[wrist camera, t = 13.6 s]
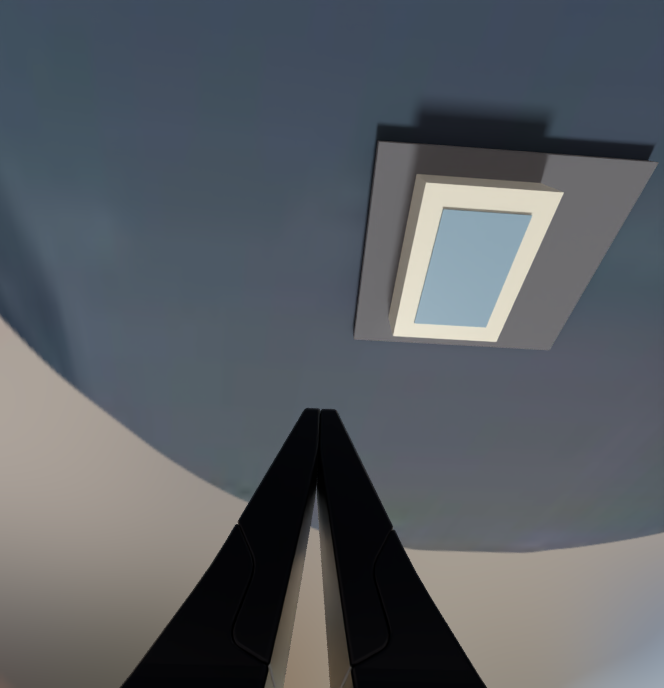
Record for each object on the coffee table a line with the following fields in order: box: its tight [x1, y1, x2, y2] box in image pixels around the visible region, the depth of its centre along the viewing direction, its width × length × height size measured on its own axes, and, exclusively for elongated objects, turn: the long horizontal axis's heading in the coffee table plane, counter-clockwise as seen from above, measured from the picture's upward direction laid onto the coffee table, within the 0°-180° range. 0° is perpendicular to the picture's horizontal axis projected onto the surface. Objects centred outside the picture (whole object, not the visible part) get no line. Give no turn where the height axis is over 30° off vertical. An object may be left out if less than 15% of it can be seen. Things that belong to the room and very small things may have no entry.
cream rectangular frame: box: [388, 174, 564, 342], centre depth 17 cm, size 8×2×6 cm
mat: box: [354, 140, 658, 350], centre depth 18 cm, size 13×11×1 cm
